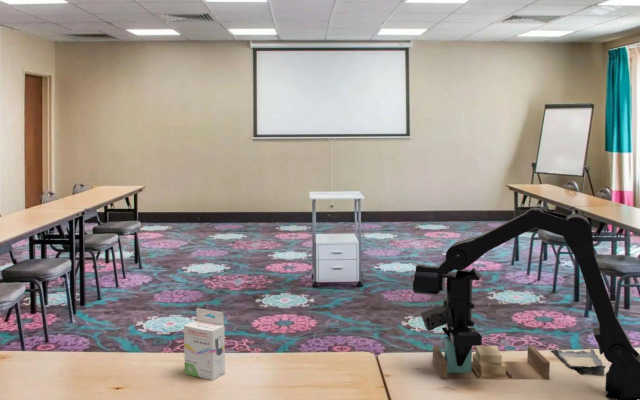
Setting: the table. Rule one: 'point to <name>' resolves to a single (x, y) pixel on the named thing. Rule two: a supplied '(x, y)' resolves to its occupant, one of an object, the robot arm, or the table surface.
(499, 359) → the offcut top
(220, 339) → the ink box
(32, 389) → the table surface
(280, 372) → the table surface
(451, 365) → the teal rectangular block
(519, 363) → the rack
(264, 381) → the table surface
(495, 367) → the offcut low
